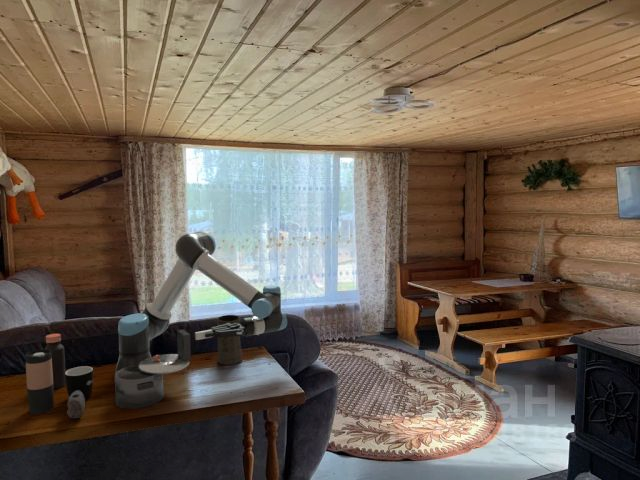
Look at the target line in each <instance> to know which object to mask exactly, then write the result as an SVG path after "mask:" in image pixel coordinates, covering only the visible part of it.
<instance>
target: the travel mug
mask: <svg viewBox="0 0 640 480" xmlns="http://www.w3.org/2000/svg"><path fill="white" fill-rule="evenodd" d="M25 377H26V391H27V401H28V402H27V403H28V410H29V413H30V414H31V415H42V414H45V413H49V412H51V411H52V410H53V409H54V407H55V405H54V403H55V402H54V401H55V398H54V389H53V371H52V357H51V350H48V349H45V348H44V349H36V350H32V351H31V350H30V351H29V352H27V353H26V354H25ZM52 408H53V409H52ZM51 409H52V410H51Z"/></svg>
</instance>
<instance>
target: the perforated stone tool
mask: <svg viewBox="0 0 640 480" xmlns="http://www.w3.org/2000/svg"><path fill="white" fill-rule="evenodd" d="M66 404H67V405H66V406H67V408H68V409H67V410H66V413H67V416H68V417H69V418H70V419H73V420H74V419H79V418H80V419H81V417H82V416H83V415H84V412H85V406H86V400H85V399H84V395H83V393H82V392H81V391H79V390H77V391H74V392H73V393H72V394H71V395H70V397H69V396H68V399H67V403H66Z"/></svg>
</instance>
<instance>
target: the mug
mask: <svg viewBox="0 0 640 480" xmlns="http://www.w3.org/2000/svg"><path fill="white" fill-rule="evenodd" d="M65 381H66V385H65V386H66V387H65V388H66V391H67V396H68V398H69V397H70V395H71V394H72V393H73V392H74V391H77V390H79V391H81V392H82V393H83V395H84V399H86V400H88V399H89V398H90V397H91V395H92V392H93V385H94V369H93V367H92V366H87V365H85V366H84V365H83V366H82V365H81V366H77V367H73V368H69V369H67V370H65ZM87 398H88V399H87Z"/></svg>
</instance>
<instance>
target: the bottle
mask: <svg viewBox="0 0 640 480" xmlns="http://www.w3.org/2000/svg"><path fill="white" fill-rule="evenodd" d="M45 342H46V346H45V348H44V349H48V350H51V357H52V371H53V390H56V389H55V388H57V389H60V388H59V387H61V388H63V387H64V386H66V381H65V372H66V357H65V346H64V345H63V344H61V342H62V335H61V334H60V333H51V334H47V335H46V336H45ZM62 386H63V387H62Z"/></svg>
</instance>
